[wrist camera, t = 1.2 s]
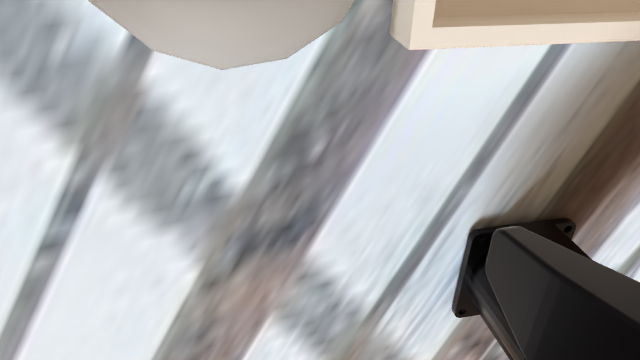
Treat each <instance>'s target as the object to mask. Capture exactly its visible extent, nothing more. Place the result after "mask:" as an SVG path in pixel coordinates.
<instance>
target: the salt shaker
mask: <svg viewBox="0 0 640 360" xmlns="http://www.w3.org/2000/svg"><path fill="white" fill-rule="evenodd" d="M89 2H91V3H92V4H93V5H95V6H96V7H97V8H99V9H100V10H101V11H102V12H104V13H105V14H106V15H108V16H109V17H110V18H112V19H113V20H114V21H115V22H117V23H118V24H119V25H121V26H122V27H123V28H125V29H126V30H127V31H129V32H130V33H131V34H132V35H134V36H135V37H136V38H138V39H139V40H140V41H142V42H143V43H144V44H146V45H147V46H148V47H149V48H151V49H152V50H153V51H157V52H160V53H164V54H167V55H171V56H174V57H178V58H181V59H185V60H189V61H192V62H196V63H199V64H203V65H206V66H210V67H213V68H217V69H220V70H224V69H230V68H236V67H241V66H247V65H253V64H259V63H264V62H270V61H276V60H281V59H287V58H288V57H290V56H291V55H293V54H294V53H296V52H297V51H299V50H300V49H302V48H303V47H305V46H306V45H308V44H309V43H311V42H312V41H314V40H315V39H317V38H318V37H320V36H321V35H323V34H324V33H326V32H327V31H329V30H330V29H332V28H333V27H335V26H336V25H338V24H339V23H341V22H342V20H343V19H344V17H345V15H346V14H347V12H348V10H349V9H350V7H351V5H352V4H353V2H354V0H89Z"/></svg>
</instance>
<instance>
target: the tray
mask: <svg viewBox="0 0 640 360" xmlns="http://www.w3.org/2000/svg"><path fill="white" fill-rule="evenodd" d="M389 35H391V36H392V37H393V38H394V39H396V40H397V41H398V42H400V43H401V44H402V45H403V46H405V47H406V48H407V49H409V50H421V49H446V48H470V47H494V46H519V45H543V44H568V43H592V42H617V41H640V0H393V4H392V14H391V24H390V34H389Z"/></svg>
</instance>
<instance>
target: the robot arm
mask: <svg viewBox="0 0 640 360" xmlns="http://www.w3.org/2000/svg"><path fill="white" fill-rule="evenodd" d="M575 228H576V225H575V223H574V222H573V221H572V220H570V219H569V218H564V219H556V220H547V221H539V222H531V223H523V224H515V225H507V226H499V227H490V228H482V229H477V230H474V231H473V232H472V233H471V234H470V235H469V238H468V242H467V246H466V251H465V255H464V259H463V263H462V268H461V272H460V276H459V281H458V285H457V289H456V293H455V298H454V302H453V306H452V311H453V313H454V314H455V316H456V317H458V318H462V317H468V316H474V315H481V317H482V318H483V320H484V321H485V323H486V324H487V326H488V328H489V329H490V331H491V332H492V334H493V335H494V337H495V338H496V340H497V341H498V343H499V344H500V346H501V347H502V349H503V350H504V352H505V353H506V355H507V356H508V358H509V359H510V360H640V282H638V281H636V280H633V279H631V278H629V277H627V276H625V275H623V274H621V273H619V272H616V271H614V270H612V269H610V268H608V267H606V266H604V265H601V264H599V263H597V262H595V261H593V260H592V259H591V258H590V257H589V256H588V255H587V254H585V253H584V252H583V251H582V250H581V249H580V248H579V247H578V246H577V245H576V244H575V243H574V242H573V241H572V240H571V239H572V236H573V234H574V231H575ZM479 237H480V238H479ZM478 238H479V239H478Z"/></svg>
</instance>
